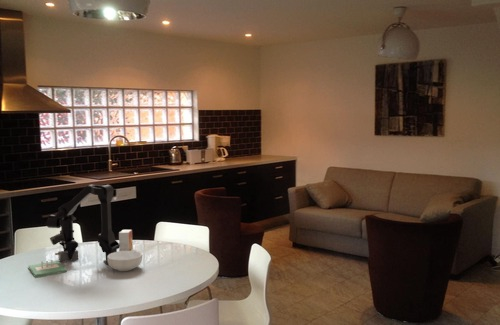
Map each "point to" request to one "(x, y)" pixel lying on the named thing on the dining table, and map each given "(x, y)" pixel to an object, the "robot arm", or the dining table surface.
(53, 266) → the pin board
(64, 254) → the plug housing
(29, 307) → the dining table surface
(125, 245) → the small box
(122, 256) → the cereal bowl
